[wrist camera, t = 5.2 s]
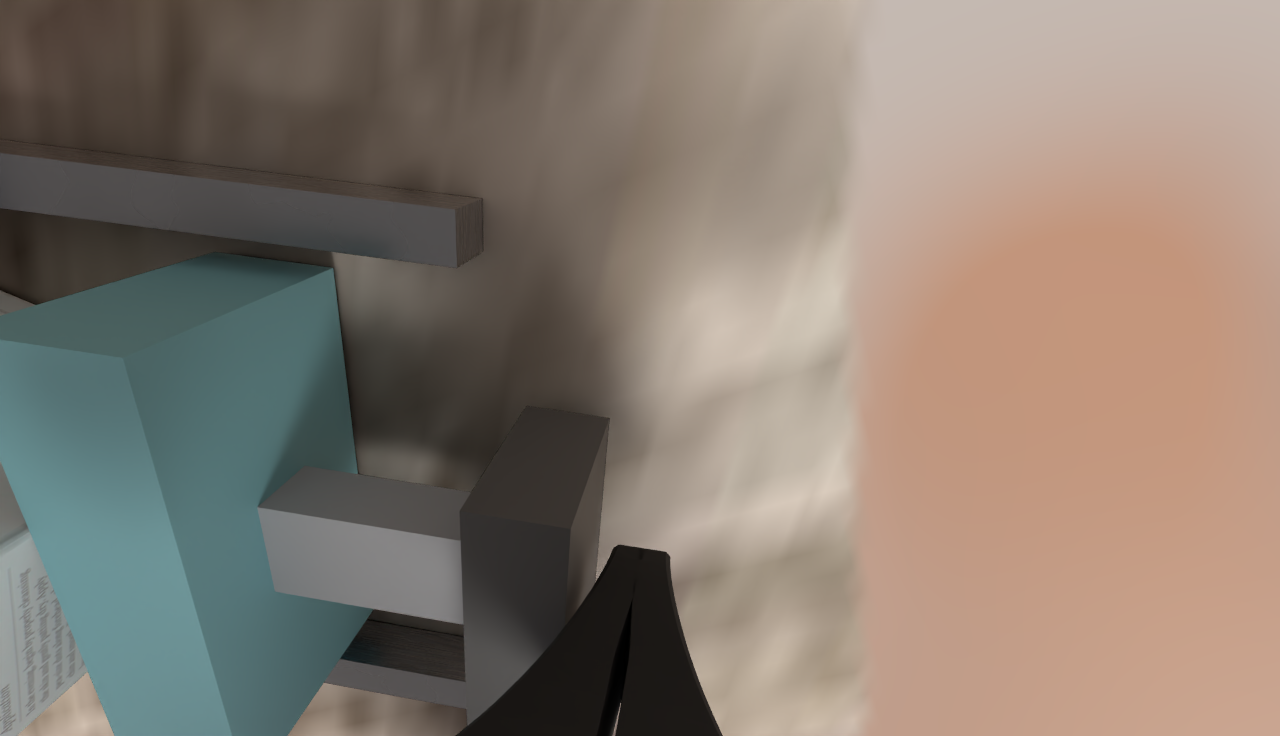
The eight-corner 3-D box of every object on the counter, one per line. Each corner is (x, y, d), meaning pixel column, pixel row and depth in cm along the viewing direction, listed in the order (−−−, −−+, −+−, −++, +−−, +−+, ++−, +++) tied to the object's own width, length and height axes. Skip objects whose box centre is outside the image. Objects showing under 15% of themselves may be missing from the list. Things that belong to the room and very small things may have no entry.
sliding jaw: (592, 646, 18) (545, 851, 13) (283, 592, 19) (128, 768, 14) (623, 306, 14) (567, 424, 9) (214, 251, 14) (-55, 331, 9)
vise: (488, 667, 20) (398, 886, 14) (-40, 572, 21) (-307, 738, 15) (482, 198, 13) (317, 265, 8) (-270, 106, 15) (-857, 108, 9)
